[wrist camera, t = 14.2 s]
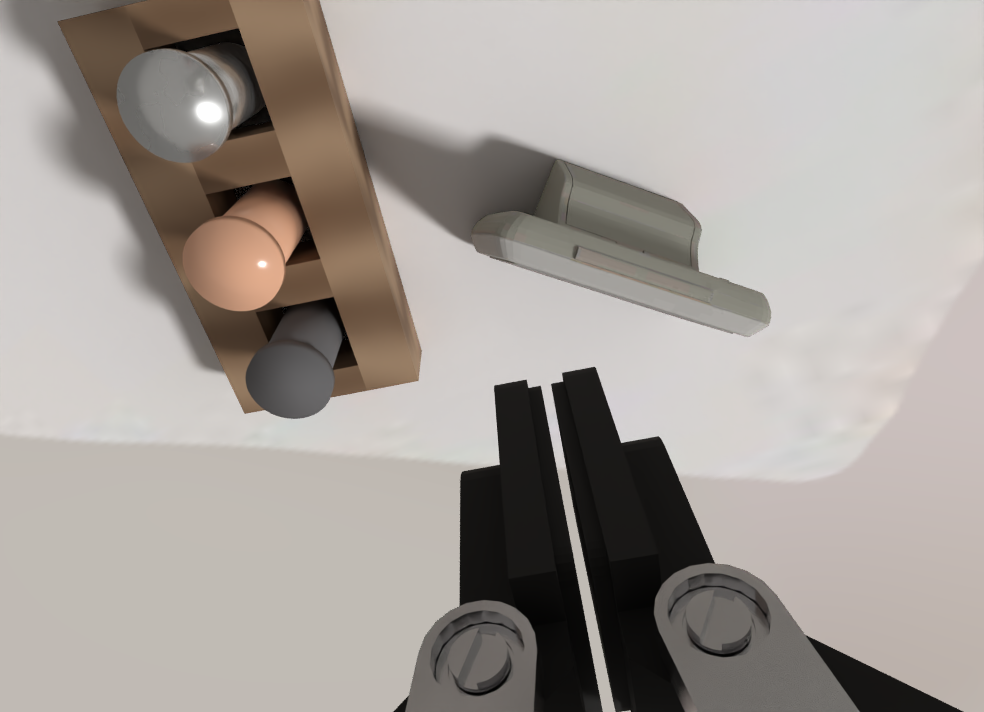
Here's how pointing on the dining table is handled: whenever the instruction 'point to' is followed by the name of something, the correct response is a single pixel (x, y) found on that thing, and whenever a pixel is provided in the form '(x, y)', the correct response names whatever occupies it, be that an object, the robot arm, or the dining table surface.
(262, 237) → the terracotta peg
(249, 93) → the grey peg
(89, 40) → the walnut block
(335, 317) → the charcoal peg
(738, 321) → the digital clock
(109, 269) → the dining table surface
